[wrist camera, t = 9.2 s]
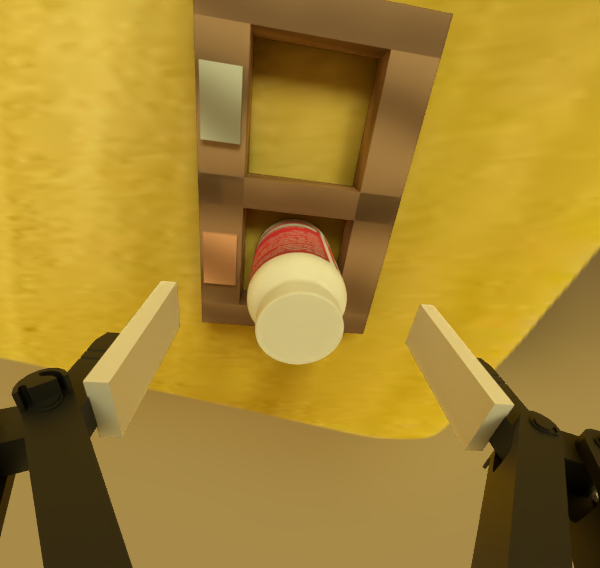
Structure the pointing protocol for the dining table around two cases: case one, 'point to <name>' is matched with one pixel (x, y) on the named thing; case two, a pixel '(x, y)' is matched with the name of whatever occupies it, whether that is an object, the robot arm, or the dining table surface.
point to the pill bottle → (296, 293)
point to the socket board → (294, 192)
